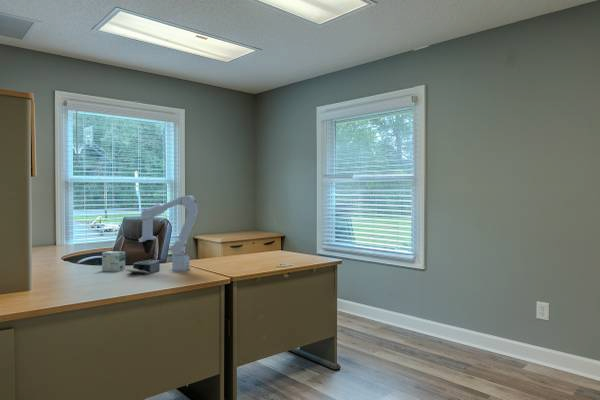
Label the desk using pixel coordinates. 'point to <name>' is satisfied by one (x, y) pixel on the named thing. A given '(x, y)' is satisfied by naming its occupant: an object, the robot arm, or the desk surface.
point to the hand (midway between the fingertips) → (147, 252)
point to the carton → (147, 266)
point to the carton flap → (137, 271)
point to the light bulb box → (113, 261)
